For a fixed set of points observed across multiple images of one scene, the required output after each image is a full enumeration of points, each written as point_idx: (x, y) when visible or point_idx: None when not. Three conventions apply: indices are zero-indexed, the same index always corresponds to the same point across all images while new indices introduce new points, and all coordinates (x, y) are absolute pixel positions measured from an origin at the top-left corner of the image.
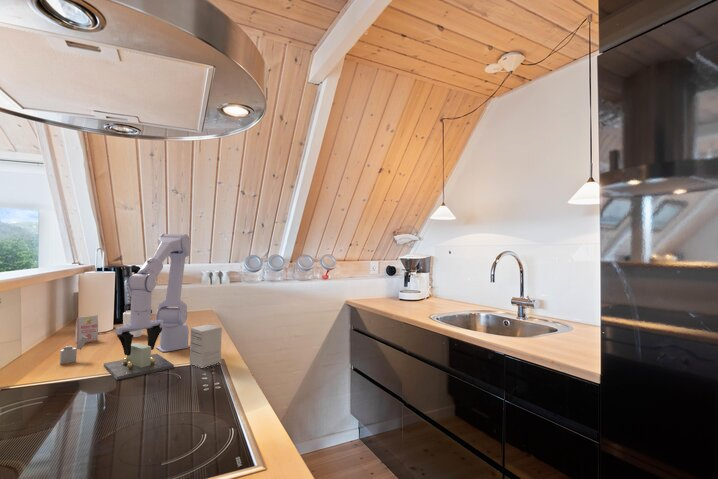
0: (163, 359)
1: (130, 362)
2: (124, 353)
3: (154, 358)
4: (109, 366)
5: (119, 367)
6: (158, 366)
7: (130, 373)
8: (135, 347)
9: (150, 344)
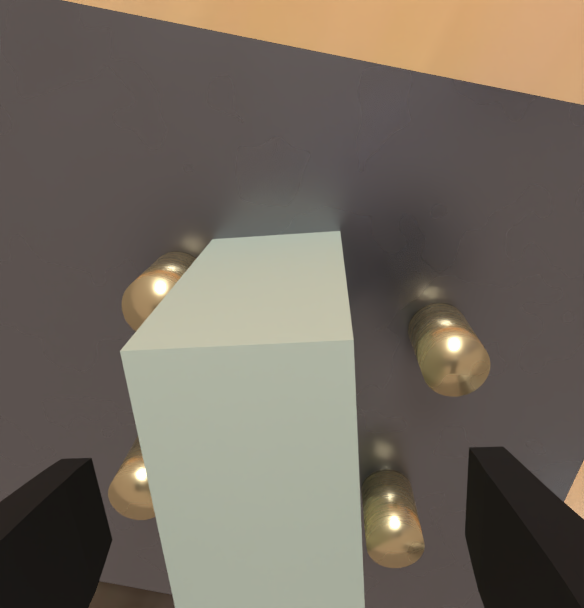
0: (564, 450)
1: (130, 516)
2: (47, 473)
3: (406, 559)
4: (8, 209)
5: (88, 339)
6: (375, 594)
7: (108, 574)
8: (176, 596)
9: (496, 570)
